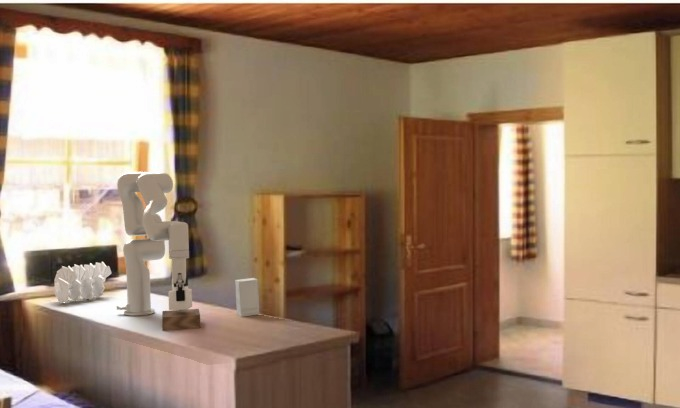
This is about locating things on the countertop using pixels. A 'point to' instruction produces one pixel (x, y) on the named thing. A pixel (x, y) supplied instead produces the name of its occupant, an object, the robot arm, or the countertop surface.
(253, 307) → the skincare box
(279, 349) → the countertop surface
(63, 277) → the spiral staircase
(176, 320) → the walnut riser
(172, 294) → the medicine bottle
